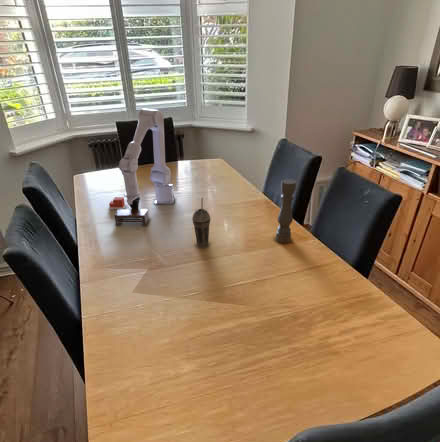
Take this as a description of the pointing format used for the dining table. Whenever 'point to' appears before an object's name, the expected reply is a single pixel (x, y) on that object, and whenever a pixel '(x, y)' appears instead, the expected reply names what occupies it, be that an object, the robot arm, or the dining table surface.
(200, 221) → the beverage cup
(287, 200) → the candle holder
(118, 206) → the stepped red block
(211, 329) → the dining table surface
